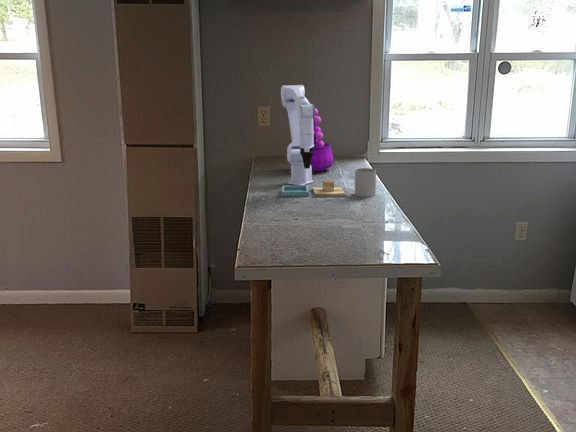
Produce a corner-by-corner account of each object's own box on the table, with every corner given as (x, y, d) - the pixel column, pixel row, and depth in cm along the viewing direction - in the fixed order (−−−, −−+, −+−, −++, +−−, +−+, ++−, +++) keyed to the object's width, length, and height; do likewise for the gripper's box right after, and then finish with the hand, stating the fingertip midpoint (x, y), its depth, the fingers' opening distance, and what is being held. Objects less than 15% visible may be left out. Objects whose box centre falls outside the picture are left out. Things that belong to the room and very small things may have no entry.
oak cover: (312, 189, 259) (312, 177, 258) (340, 188, 260) (340, 177, 259) (315, 196, 248) (315, 184, 247) (344, 195, 248) (345, 183, 247)
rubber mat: (311, 189, 261) (311, 188, 261) (344, 188, 261) (344, 187, 261) (312, 197, 247) (312, 196, 247) (347, 196, 247) (347, 195, 247)
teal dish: (282, 190, 260) (282, 185, 259) (308, 190, 260) (308, 185, 259) (281, 196, 249) (281, 192, 249) (308, 196, 249) (308, 191, 248)
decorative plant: (290, 168, 305) (289, 107, 296) (325, 165, 310) (325, 105, 302) (302, 175, 287) (301, 110, 279) (339, 172, 292) (339, 108, 284)
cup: (374, 197, 246) (375, 172, 244) (354, 196, 248) (354, 172, 245) (375, 192, 254) (376, 168, 252) (356, 191, 256) (356, 167, 253)
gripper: (296, 132, 260) (297, 164, 263) (296, 136, 245) (297, 170, 249) (313, 131, 259) (313, 163, 263) (314, 136, 245) (314, 169, 249)
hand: (306, 166), depth 256 cm, fingers open, 7 cm apart
